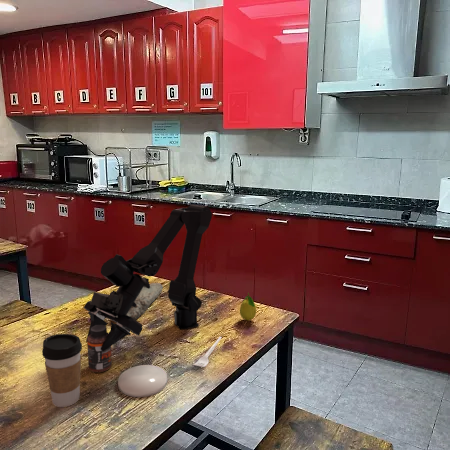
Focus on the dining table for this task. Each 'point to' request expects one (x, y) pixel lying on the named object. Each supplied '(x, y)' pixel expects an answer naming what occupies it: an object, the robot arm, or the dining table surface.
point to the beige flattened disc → (142, 381)
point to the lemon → (248, 308)
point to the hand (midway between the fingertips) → (94, 346)
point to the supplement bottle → (98, 350)
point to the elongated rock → (145, 300)
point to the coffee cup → (63, 367)
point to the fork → (206, 355)
